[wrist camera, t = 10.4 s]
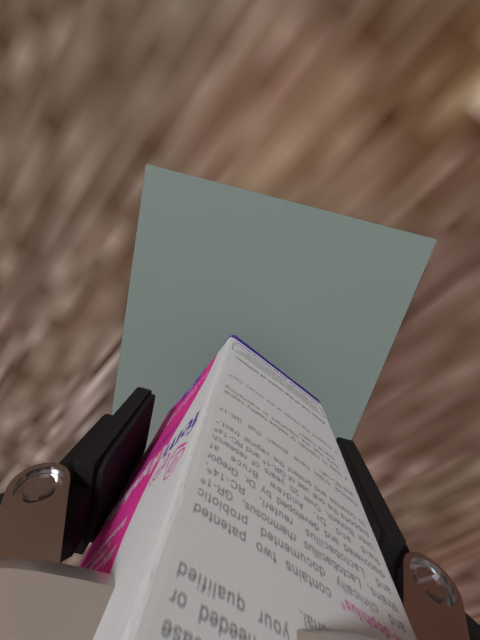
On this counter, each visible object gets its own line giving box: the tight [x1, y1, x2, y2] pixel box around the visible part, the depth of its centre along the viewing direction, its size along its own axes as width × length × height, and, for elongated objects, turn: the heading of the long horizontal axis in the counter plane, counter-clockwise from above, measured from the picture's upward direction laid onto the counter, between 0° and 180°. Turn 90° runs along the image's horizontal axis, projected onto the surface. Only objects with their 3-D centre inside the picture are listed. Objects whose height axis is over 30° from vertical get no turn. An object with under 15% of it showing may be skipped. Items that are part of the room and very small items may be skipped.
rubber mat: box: [112, 164, 437, 453], centre depth 15 cm, size 20×14×1 cm
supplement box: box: [79, 335, 417, 640], centre depth 8 cm, size 6×6×12 cm
